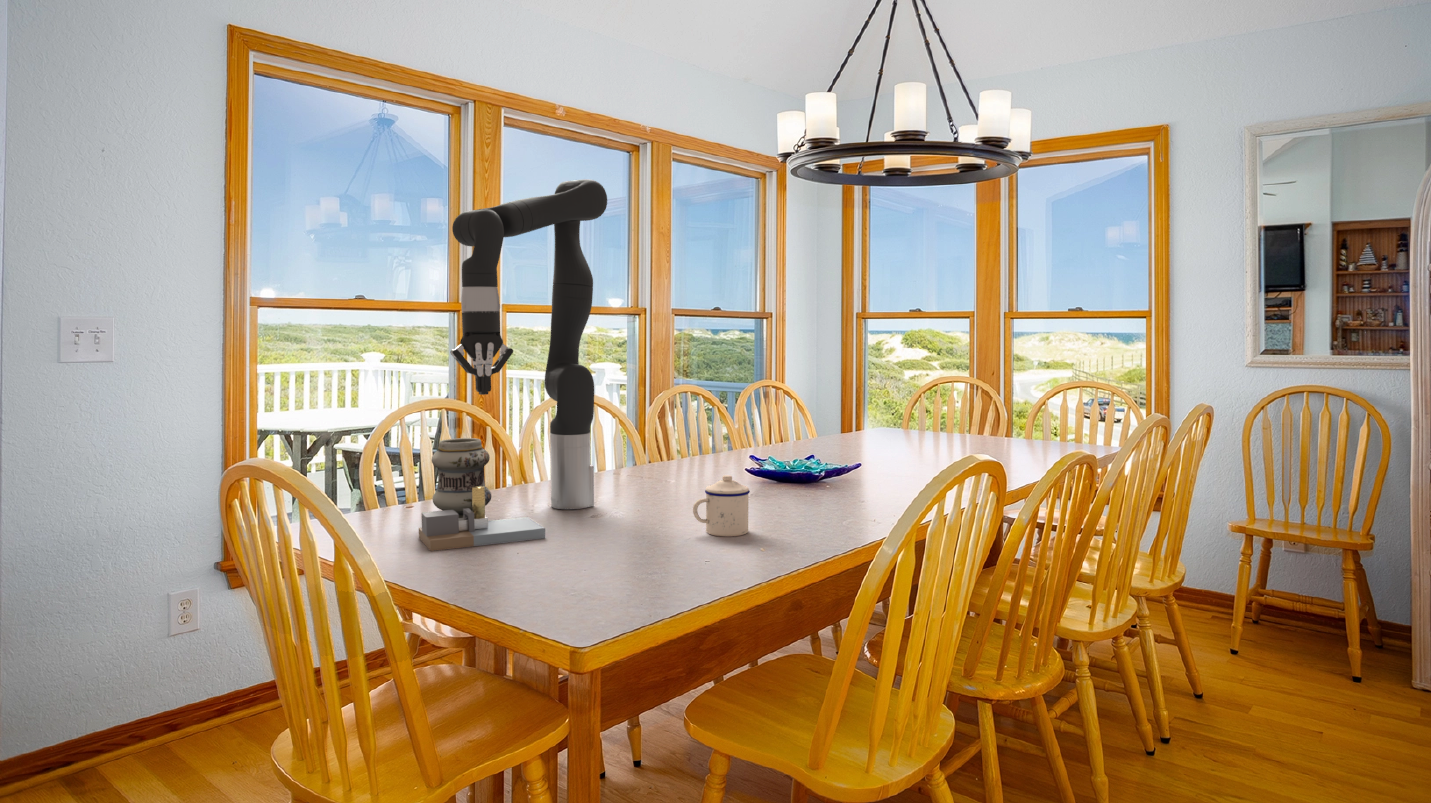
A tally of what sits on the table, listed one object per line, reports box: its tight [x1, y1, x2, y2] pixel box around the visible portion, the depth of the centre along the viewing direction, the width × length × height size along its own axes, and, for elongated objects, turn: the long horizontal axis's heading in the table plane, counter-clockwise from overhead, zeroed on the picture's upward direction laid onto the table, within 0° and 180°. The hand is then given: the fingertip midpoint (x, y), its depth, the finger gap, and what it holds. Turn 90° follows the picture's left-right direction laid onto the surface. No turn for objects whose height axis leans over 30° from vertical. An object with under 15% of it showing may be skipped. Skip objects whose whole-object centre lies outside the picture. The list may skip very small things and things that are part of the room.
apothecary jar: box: [431, 437, 492, 518], centre depth 189 cm, size 12×12×18 cm
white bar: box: [459, 486, 489, 531], centre depth 175 cm, size 10×2×8 cm, turn 118°
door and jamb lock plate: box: [418, 508, 546, 552], centre depth 177 cm, size 22×12×6 cm, turn 118°
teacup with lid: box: [692, 474, 750, 538], centre depth 181 cm, size 12×9×12 cm
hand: (483, 394), depth 184 cm, fingers closed
